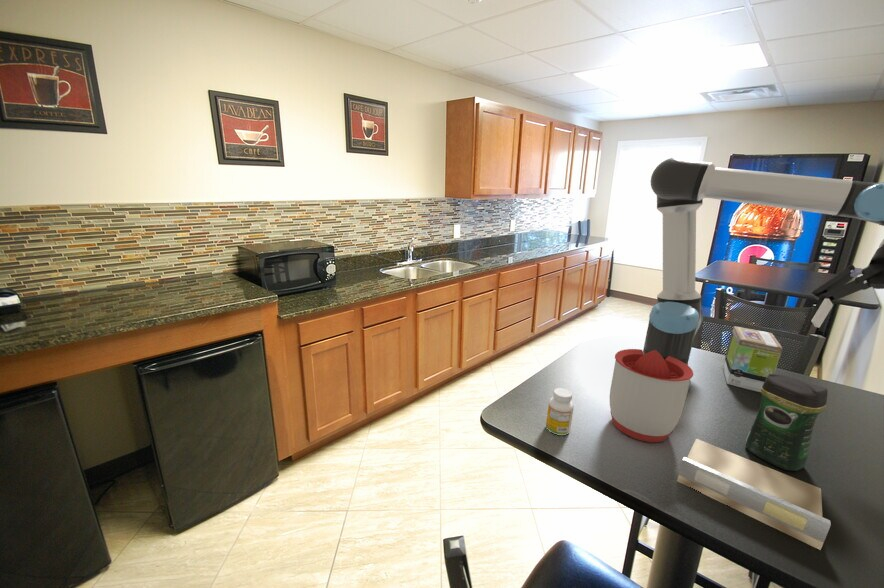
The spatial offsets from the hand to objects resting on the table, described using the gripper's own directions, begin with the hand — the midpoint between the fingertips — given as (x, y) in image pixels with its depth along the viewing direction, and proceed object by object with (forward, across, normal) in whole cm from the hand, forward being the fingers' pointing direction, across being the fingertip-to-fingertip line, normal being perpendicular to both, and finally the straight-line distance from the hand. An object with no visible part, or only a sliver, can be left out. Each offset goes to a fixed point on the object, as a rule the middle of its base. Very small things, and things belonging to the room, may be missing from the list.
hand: (854, 331), depth 81 cm
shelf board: (+42, -3, +11) cm, 44 cm away
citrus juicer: (+43, +19, +15) cm, 49 cm away
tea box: (+10, +28, -26) cm, 39 cm away
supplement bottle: (+55, +23, +32) cm, 67 cm away
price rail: (+46, -6, +17) cm, 49 cm away
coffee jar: (+33, +2, -2) cm, 33 cm away
